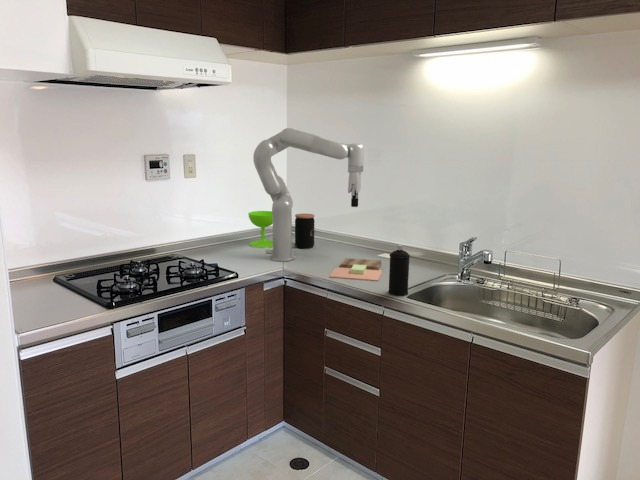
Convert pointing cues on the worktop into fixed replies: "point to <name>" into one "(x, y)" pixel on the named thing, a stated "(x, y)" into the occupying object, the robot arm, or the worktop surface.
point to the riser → (361, 263)
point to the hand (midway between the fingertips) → (354, 206)
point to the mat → (346, 274)
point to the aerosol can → (399, 272)
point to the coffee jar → (304, 231)
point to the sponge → (358, 269)
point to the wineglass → (262, 221)
